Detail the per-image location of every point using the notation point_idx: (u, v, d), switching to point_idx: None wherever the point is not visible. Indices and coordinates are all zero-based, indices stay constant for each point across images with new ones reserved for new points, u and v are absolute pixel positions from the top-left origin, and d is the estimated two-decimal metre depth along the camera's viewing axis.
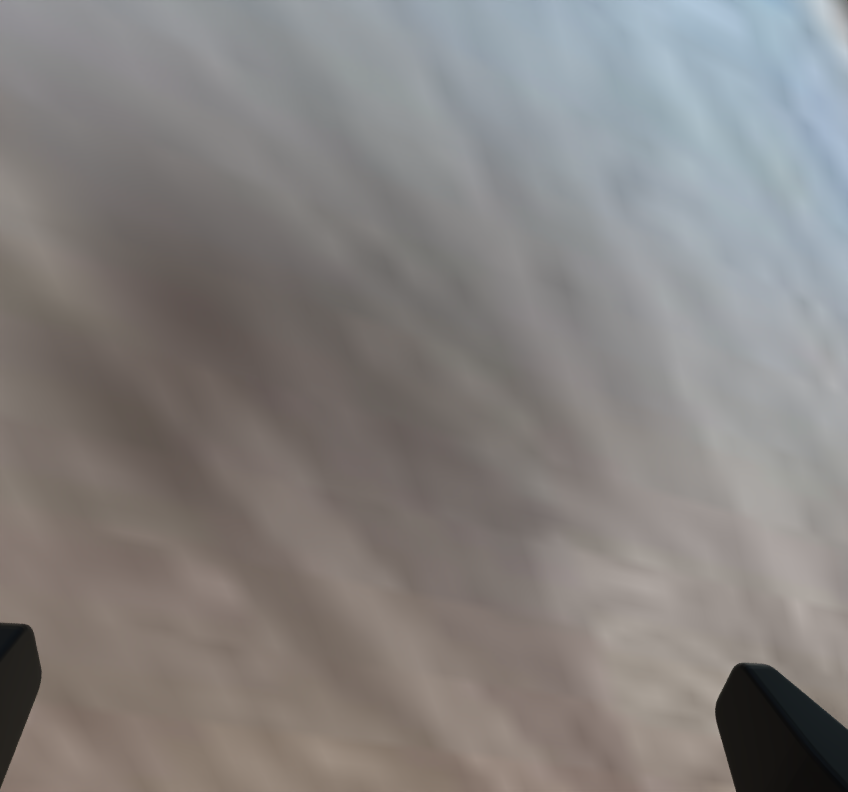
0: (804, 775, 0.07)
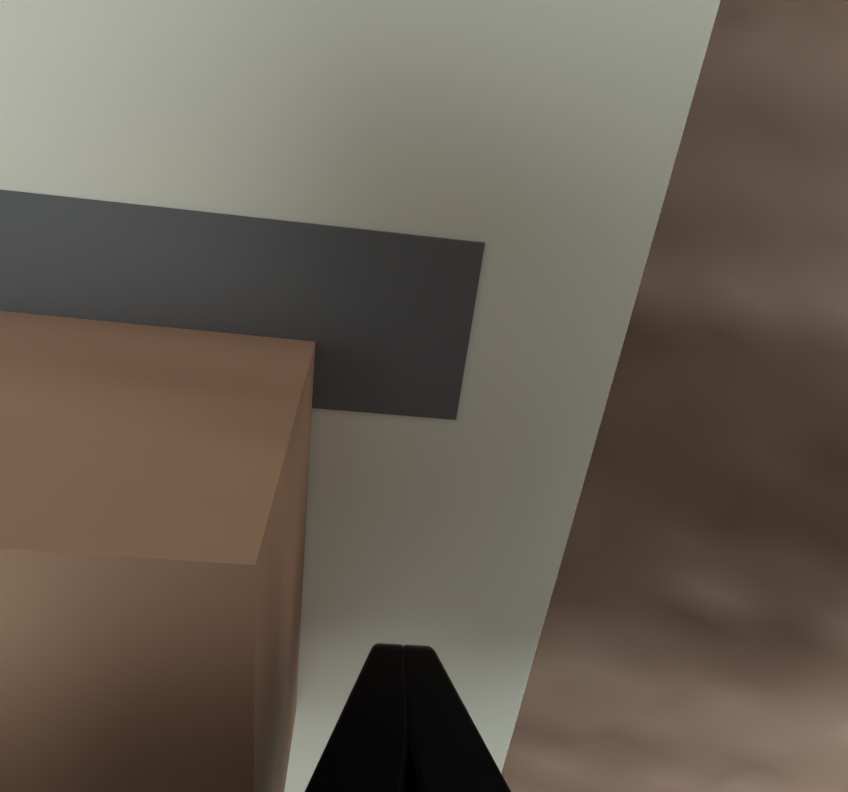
0: None
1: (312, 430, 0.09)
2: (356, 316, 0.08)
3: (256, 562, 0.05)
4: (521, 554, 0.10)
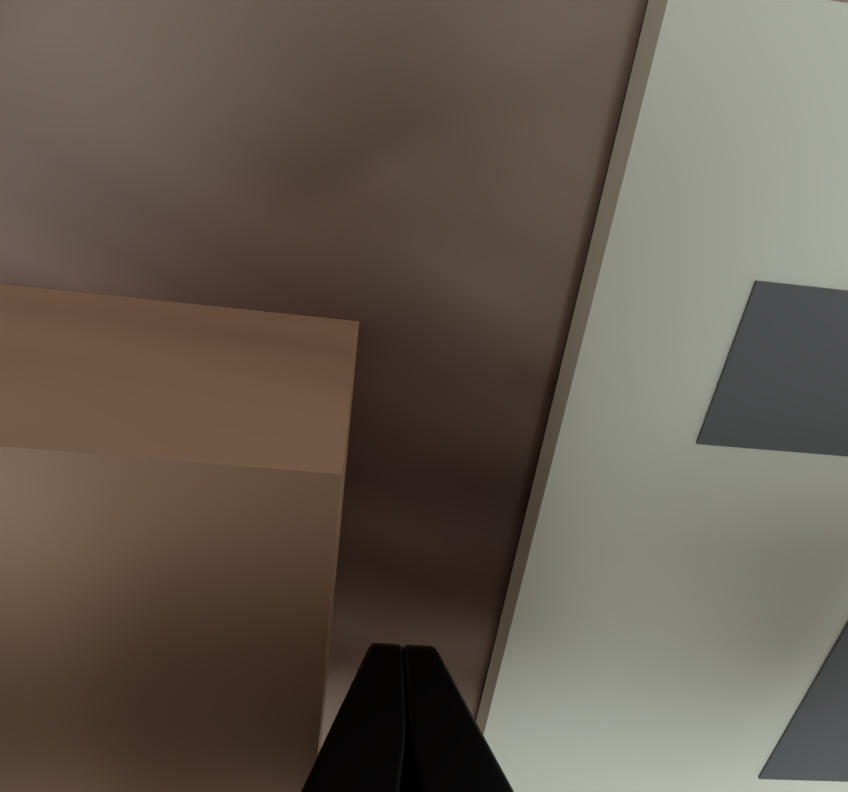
0: (406, 761, 0.07)
1: None
2: None
3: (341, 473, 0.06)
4: None
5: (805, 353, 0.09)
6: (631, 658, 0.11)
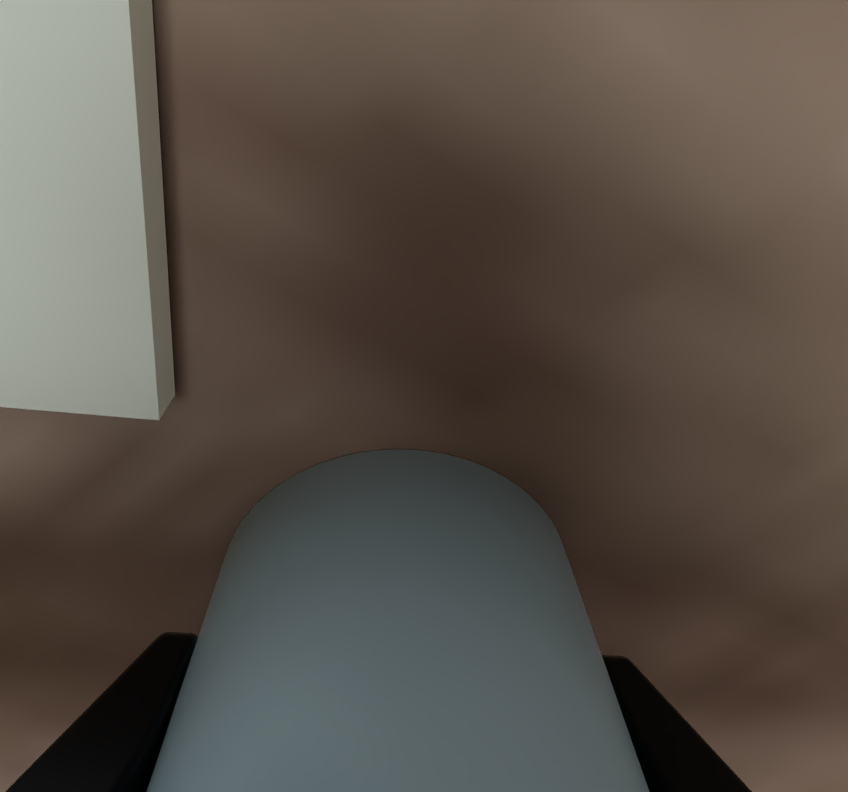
0: None
1: None
2: None
3: None
4: None
5: None
6: None
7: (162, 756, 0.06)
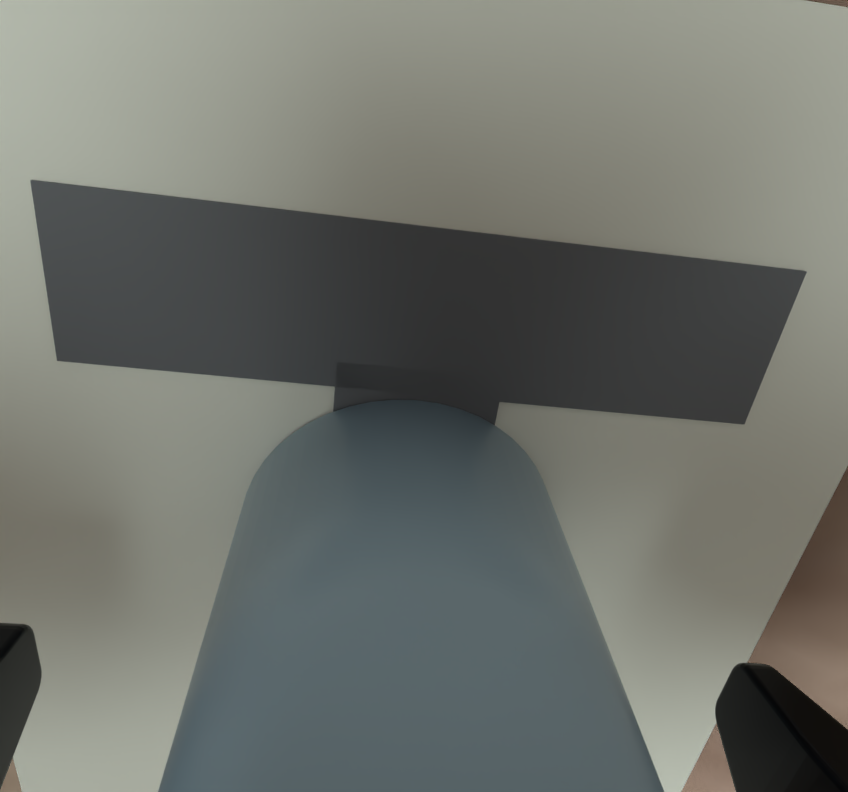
0: (804, 775, 0.07)
1: (617, 433, 0.10)
2: (677, 333, 0.09)
3: None
4: (770, 545, 0.11)
5: (123, 261, 0.08)
6: (109, 596, 0.11)
7: (205, 645, 0.07)
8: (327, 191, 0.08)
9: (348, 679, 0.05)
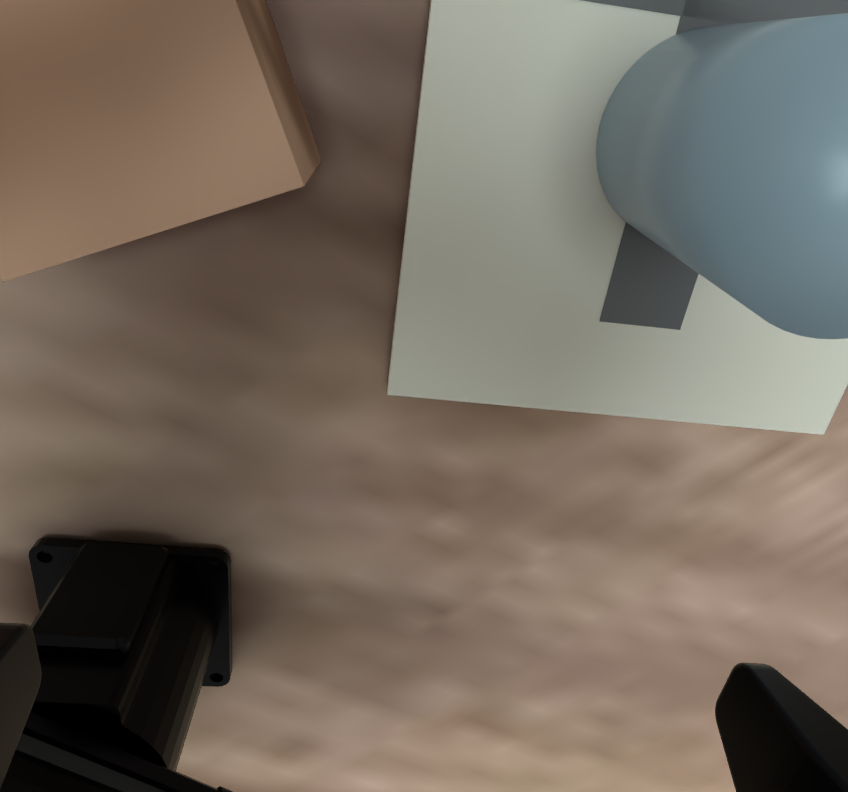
0: (804, 775, 0.07)
1: None
2: None
3: None
4: None
5: None
6: (498, 191, 0.17)
7: (668, 89, 0.13)
8: None
9: (807, 18, 0.11)
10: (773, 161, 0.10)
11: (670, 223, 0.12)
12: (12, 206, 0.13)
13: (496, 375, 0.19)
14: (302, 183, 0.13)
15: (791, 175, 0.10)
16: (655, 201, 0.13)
